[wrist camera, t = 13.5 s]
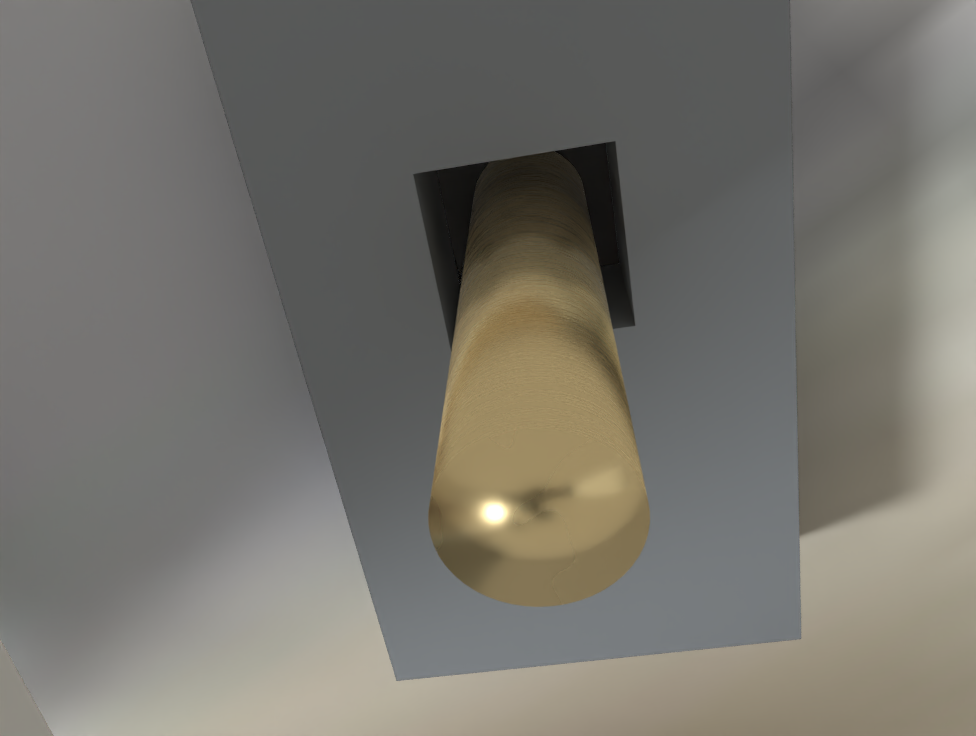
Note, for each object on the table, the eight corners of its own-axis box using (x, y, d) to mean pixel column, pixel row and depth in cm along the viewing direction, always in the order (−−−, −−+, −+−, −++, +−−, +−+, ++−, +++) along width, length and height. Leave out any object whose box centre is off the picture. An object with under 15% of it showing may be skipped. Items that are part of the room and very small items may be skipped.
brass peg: (590, 245, 25) (657, 595, 13) (483, 260, 26) (449, 616, 13) (578, 137, 24) (640, 415, 12) (464, 155, 24) (408, 442, 12)
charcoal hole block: (768, 549, 30) (800, 639, 27) (410, 590, 31) (396, 680, 28) (741, -137, 21) (787, -139, 17) (236, -40, 22) (183, -24, 19)
